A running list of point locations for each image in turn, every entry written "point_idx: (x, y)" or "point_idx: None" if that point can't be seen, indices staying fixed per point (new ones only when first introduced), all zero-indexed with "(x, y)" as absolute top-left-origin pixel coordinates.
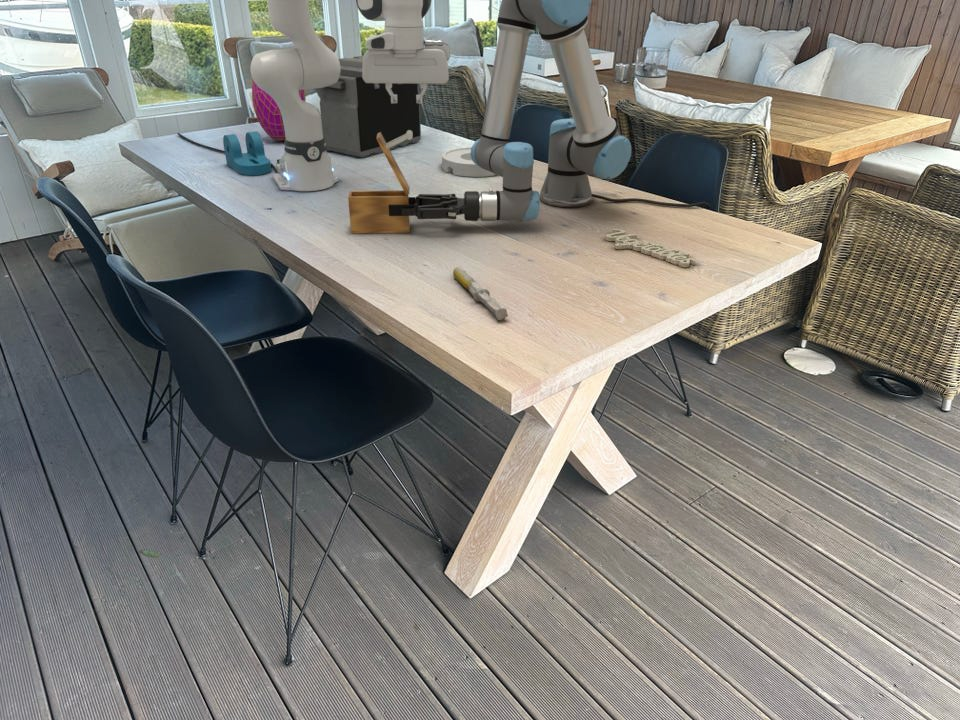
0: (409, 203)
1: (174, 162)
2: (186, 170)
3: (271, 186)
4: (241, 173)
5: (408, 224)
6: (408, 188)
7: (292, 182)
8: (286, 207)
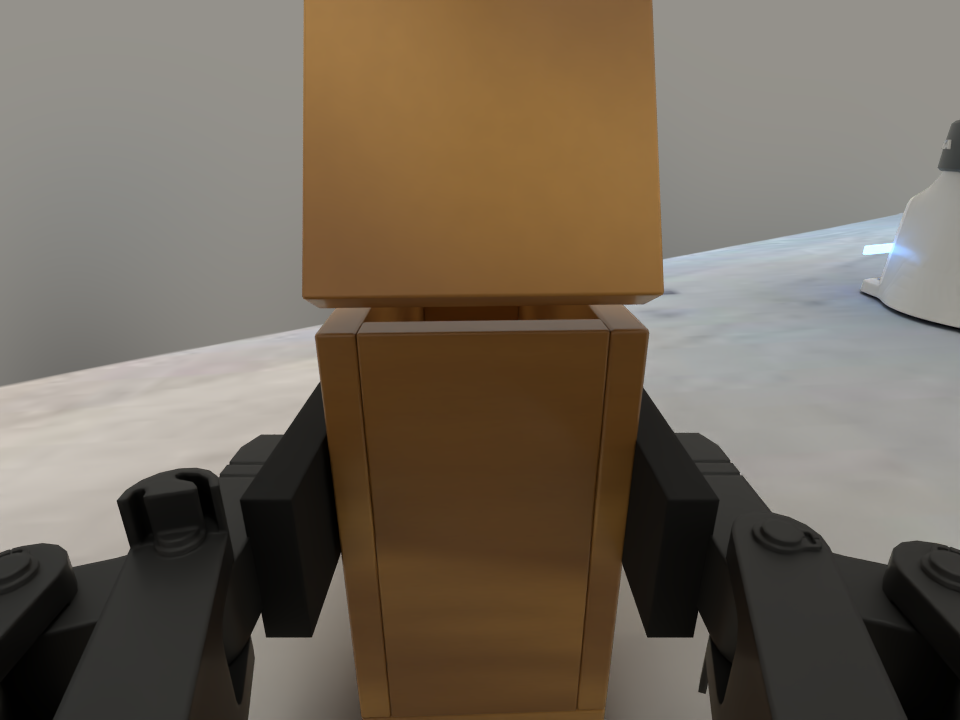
0: (632, 515)
1: (889, 227)
2: (856, 234)
3: None
4: None
5: (356, 659)
6: (488, 254)
7: (890, 272)
8: (702, 305)
